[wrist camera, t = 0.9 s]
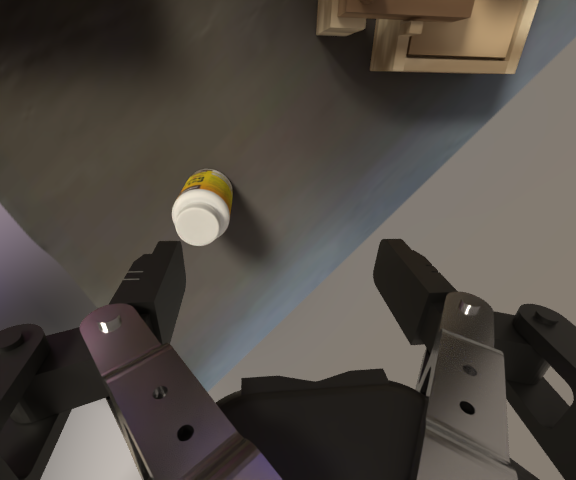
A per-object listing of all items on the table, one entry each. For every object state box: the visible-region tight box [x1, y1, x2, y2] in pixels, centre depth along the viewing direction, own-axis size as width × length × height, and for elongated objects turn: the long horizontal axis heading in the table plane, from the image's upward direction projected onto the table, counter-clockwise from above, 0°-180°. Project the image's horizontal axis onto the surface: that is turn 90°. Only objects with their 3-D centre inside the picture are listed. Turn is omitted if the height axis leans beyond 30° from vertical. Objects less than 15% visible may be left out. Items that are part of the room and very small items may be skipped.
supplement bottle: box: [172, 169, 233, 246], centre depth 32 cm, size 6×6×10 cm
